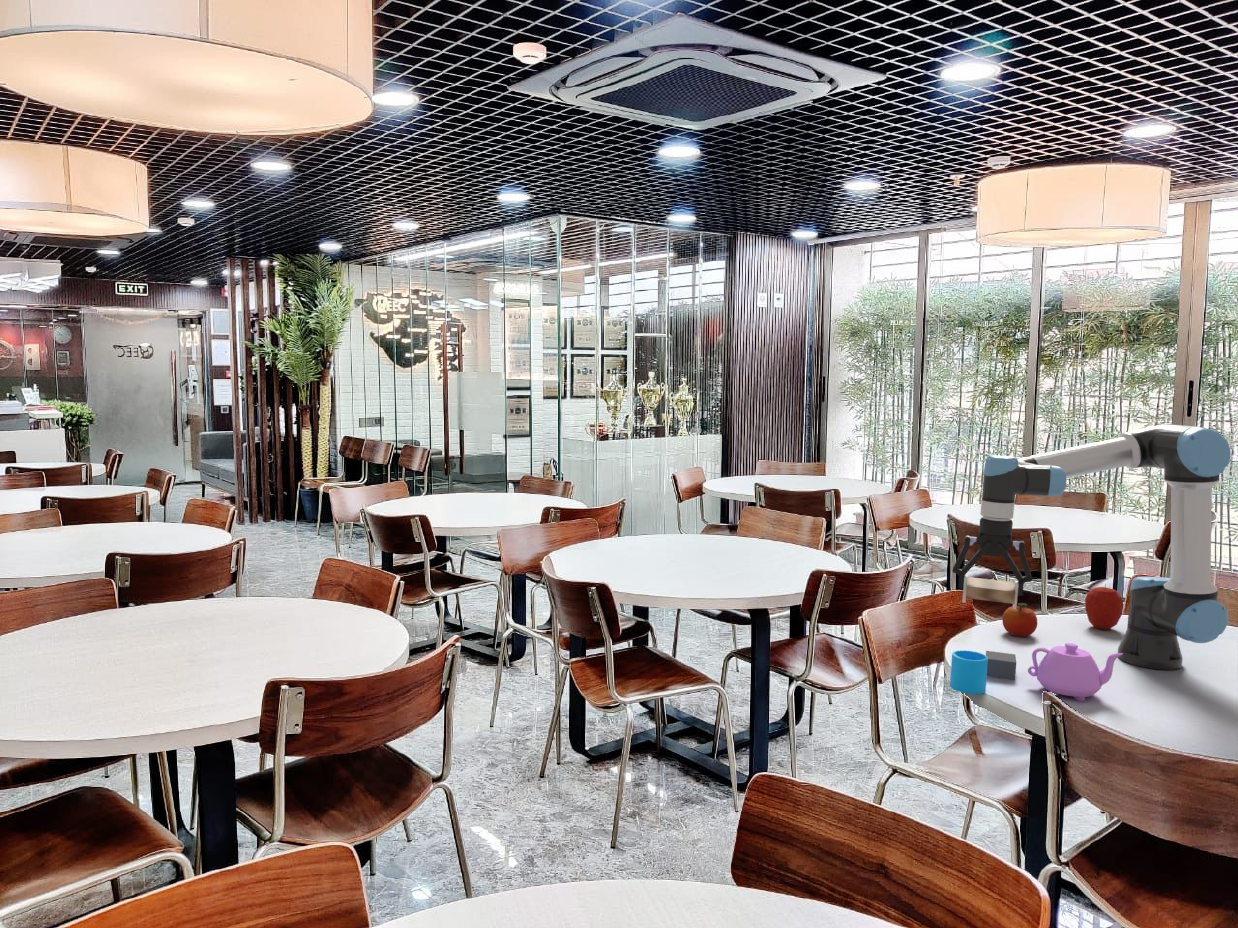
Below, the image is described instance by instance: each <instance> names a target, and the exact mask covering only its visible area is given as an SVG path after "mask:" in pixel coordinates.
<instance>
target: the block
mask: <svg viewBox="0 0 1238 928" xmlns="http://www.w3.org/2000/svg"><path fill="white" fill-rule="evenodd" d="M966 599H972V600H978V601H979V600H981V601H987V602H988V601H989V602H997V603H1004V604H1011V605H1013V604H1014V601H1015V581H1014V582H1013V581H1005V580H996V579H989V578H979V577H971V576H968V580H967V589H966Z"/></svg>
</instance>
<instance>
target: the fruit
mask: <svg viewBox="0 0 1238 928" xmlns="http://www.w3.org/2000/svg"><path fill="white" fill-rule="evenodd" d="M1027 605H1028V604H1027V603H1024V602H1019V603H1018V602H1017V607H1016V609H1013V605H1012V606H1009V607H1008V608H1006V609H1005V611H1004V612H1003V614H1002V619H1001V620H1002V626H1003V628H1004V630H1005V631H1006V632H1007V633H1009V634H1010V635H1012V636H1014V637H1021V638H1023V637H1024V638H1027V637H1029V636H1031V635H1033V633H1035V631H1036V629H1037V628H1038V618H1037V614H1036V613H1035V612H1034V610H1033V609H1031V608H1028V607H1027Z"/></svg>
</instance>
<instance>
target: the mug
mask: <svg viewBox="0 0 1238 928" xmlns="http://www.w3.org/2000/svg"><path fill="white" fill-rule="evenodd" d="M950 662H951V663H950V665H951V666H950V676H949V677H950V680H949V686H950V688H951V689H953V690H955V691H957V692H960V693H965V694H969V695H978V694H979V695H980V694H983V693H984V694H985V692H986V689H987V677H988V676H987V664H988V657H987V656H986V654H984V653H982V652H977V651H975V650H974V651H973V650H964V649H963V650H961V649H960V650H954V651H953V652H952V653H951V661H950Z"/></svg>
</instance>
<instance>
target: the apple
mask: <svg viewBox="0 0 1238 928" xmlns="http://www.w3.org/2000/svg"><path fill="white" fill-rule="evenodd" d="M1106 585H1107V584H1106V583H1105V584H1104V586H1098V587H1097V586H1096V587H1093V588H1092V589H1090V590H1089V591H1088V593H1087V594H1086V596H1085V598H1084V604H1085V605H1084V606H1085V608H1084V609H1085V613H1086V616H1087V619H1088V622H1089V623H1090V624H1091V625H1092V627H1094V628H1095V629H1098V630H1101V631H1109V630H1111V629H1112V628H1113V627H1115V626H1117V625H1118V623H1119V621H1120V619H1121V617H1122V614H1123V610H1124V602H1123V599H1122V595H1121V594H1120V593H1119V592H1118V591H1117V590H1116V589H1114V588H1111V587H1106Z"/></svg>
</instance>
